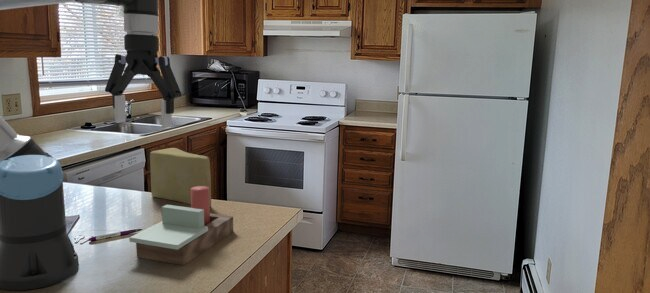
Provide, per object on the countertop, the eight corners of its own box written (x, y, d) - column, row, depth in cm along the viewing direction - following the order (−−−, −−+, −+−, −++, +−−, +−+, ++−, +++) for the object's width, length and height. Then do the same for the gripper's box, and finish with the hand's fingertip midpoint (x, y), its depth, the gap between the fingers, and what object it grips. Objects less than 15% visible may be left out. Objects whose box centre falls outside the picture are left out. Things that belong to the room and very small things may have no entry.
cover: (177, 249, 103) (176, 226, 102) (129, 241, 107) (128, 219, 106) (208, 230, 114) (207, 210, 113) (164, 224, 118) (163, 204, 117)
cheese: (222, 204, 149) (221, 155, 146) (196, 212, 141) (195, 160, 138) (176, 190, 161) (174, 145, 159) (150, 197, 154) (148, 150, 151)
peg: (204, 239, 121) (203, 191, 118) (188, 236, 122) (187, 190, 120) (213, 232, 125) (212, 187, 122) (198, 230, 126) (196, 185, 124)
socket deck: (183, 265, 106) (182, 247, 105) (136, 256, 109) (135, 239, 109) (233, 231, 126) (233, 216, 126) (192, 225, 130) (192, 210, 129)
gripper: (196, 36, 114) (196, 127, 117) (111, 33, 122) (113, 118, 126) (176, 34, 107) (176, 131, 110) (87, 31, 115) (90, 121, 119)
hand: (143, 125), depth 118 cm, fingers open, 13 cm apart
